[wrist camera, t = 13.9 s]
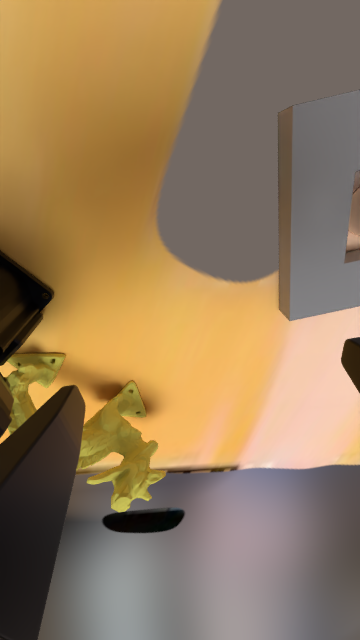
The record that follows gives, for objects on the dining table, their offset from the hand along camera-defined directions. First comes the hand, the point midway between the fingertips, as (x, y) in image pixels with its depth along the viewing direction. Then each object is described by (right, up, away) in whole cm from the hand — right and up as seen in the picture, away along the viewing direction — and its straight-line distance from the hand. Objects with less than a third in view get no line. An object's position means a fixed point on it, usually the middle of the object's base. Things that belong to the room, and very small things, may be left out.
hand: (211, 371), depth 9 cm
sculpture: (-11, -4, +17) cm, 20 cm away
